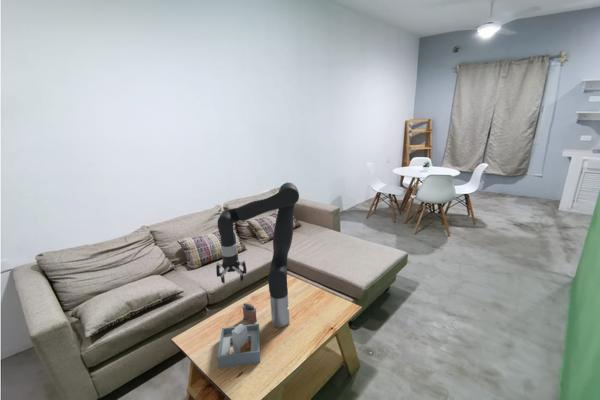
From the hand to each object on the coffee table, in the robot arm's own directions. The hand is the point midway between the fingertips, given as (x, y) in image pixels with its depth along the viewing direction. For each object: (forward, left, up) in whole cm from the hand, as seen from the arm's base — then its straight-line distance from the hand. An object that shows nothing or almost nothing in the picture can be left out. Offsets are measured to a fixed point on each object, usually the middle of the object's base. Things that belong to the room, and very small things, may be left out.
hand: (232, 281), depth 146 cm
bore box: (-3, +16, -26) cm, 31 cm away
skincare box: (-3, +16, -27) cm, 32 cm away
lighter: (-7, -4, -27) cm, 28 cm away
